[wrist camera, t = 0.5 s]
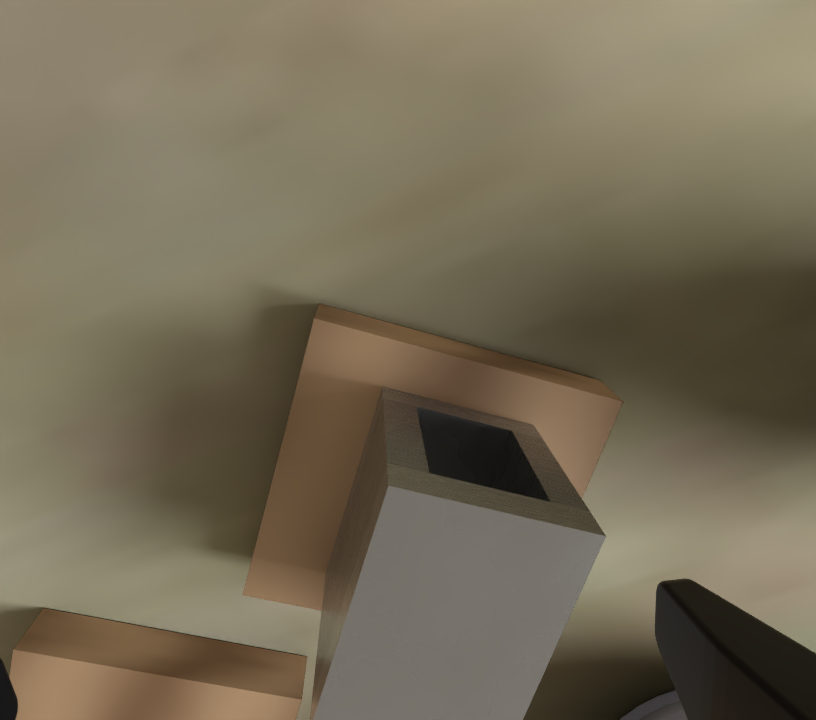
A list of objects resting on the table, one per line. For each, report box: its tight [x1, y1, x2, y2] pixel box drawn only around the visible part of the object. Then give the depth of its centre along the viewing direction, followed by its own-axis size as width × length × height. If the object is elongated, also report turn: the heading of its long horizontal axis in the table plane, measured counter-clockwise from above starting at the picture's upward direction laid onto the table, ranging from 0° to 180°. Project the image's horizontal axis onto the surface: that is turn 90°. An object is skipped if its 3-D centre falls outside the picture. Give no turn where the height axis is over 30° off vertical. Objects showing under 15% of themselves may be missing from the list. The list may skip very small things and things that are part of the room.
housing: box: [310, 386, 606, 720], centre depth 17 cm, size 5×7×6 cm
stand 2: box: [243, 304, 623, 611], centre depth 20 cm, size 10×10×2 cm
